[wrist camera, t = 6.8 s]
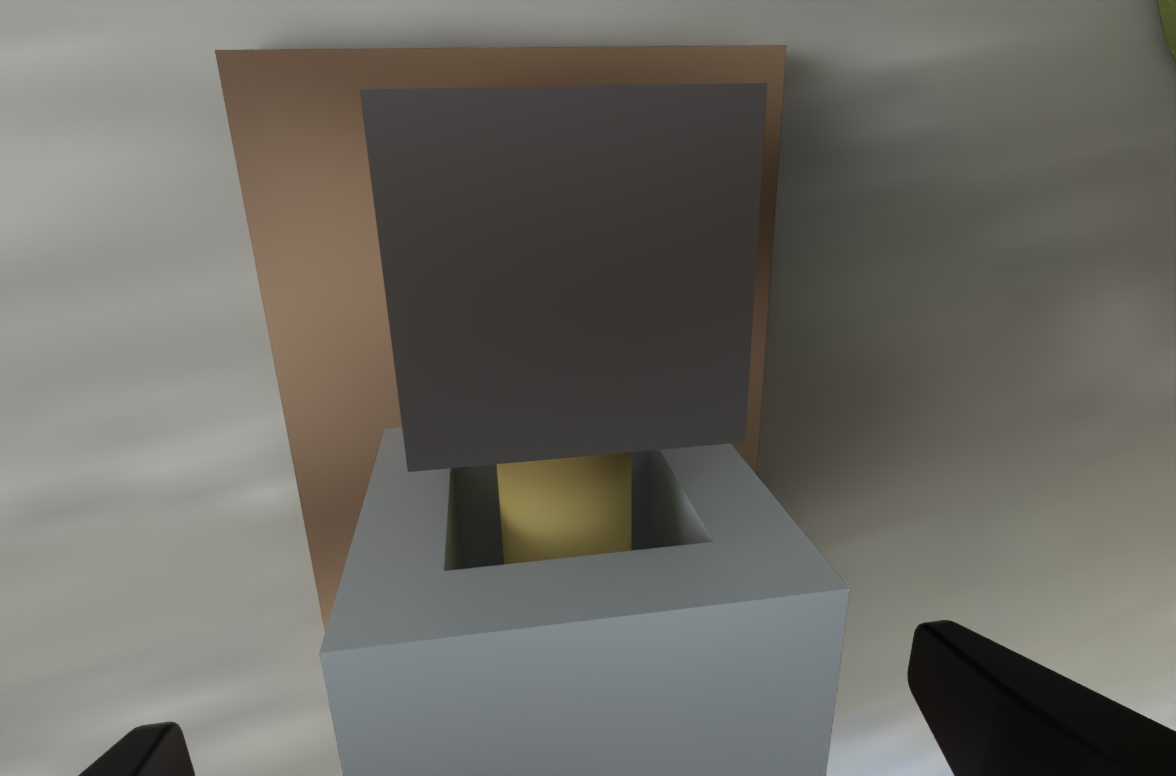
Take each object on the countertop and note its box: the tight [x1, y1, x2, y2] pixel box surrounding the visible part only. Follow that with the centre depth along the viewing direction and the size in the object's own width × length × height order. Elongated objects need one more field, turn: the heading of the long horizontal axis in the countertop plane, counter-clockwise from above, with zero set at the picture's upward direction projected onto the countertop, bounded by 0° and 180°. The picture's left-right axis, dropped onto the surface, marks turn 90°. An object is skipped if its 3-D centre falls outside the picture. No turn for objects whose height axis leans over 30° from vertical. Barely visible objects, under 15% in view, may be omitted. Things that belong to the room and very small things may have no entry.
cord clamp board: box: [215, 45, 786, 632], centre depth 12 cm, size 18×9×8 cm, turn 1°
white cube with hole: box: [320, 427, 850, 776], centre depth 9 cm, size 5×5×5 cm
